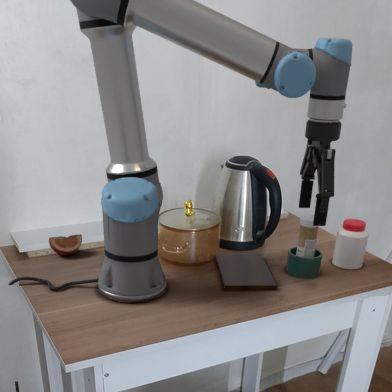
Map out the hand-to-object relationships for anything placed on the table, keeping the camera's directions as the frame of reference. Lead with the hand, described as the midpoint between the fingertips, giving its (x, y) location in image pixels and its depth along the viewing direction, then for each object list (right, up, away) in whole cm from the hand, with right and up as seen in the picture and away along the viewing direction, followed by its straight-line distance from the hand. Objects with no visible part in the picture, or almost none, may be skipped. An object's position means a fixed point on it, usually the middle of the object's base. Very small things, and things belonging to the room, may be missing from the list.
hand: (311, 216), depth 131 cm
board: (-16, -13, +5) cm, 21 cm away
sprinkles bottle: (-1, -12, +7) cm, 14 cm away
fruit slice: (-60, -7, +12) cm, 62 cm away
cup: (-1, -12, +7) cm, 14 cm away
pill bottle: (+12, -9, +13) cm, 20 cm away
